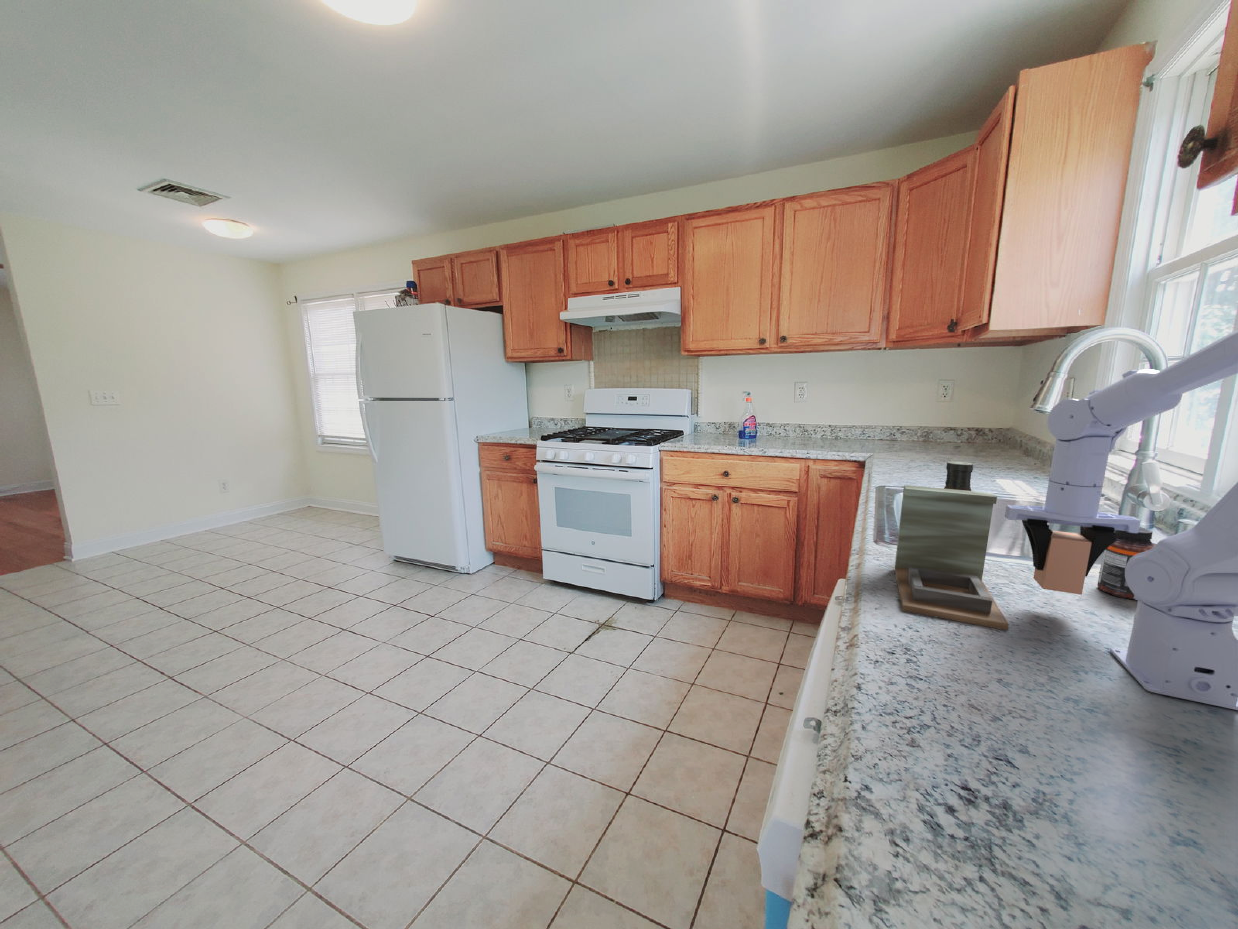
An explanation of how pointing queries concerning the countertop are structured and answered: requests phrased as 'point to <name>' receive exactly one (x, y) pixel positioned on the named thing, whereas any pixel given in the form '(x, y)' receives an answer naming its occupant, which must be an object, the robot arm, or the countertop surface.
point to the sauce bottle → (958, 475)
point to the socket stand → (946, 555)
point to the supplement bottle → (1122, 561)
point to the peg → (1065, 563)
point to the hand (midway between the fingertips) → (1059, 570)
